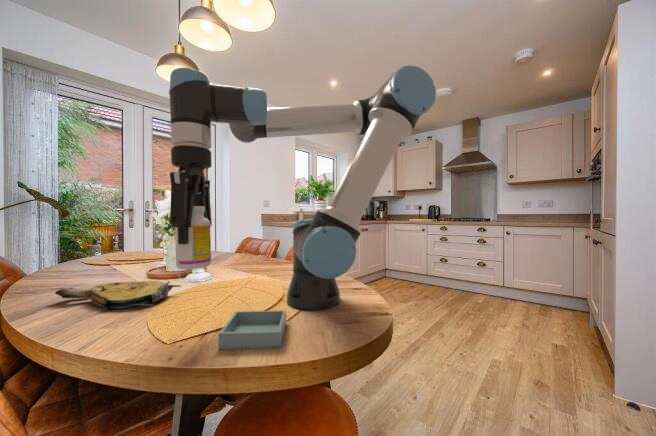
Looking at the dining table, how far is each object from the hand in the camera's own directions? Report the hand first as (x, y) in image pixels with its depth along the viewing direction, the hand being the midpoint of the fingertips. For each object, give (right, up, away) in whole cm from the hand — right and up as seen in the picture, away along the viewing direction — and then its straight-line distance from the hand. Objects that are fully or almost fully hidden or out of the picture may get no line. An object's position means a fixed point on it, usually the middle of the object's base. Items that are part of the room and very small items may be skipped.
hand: (194, 257), depth 57 cm
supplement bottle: (0, -2, 0) cm, 2 cm away
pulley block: (-31, -16, +18) cm, 39 cm away
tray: (+14, -16, -2) cm, 21 cm away
